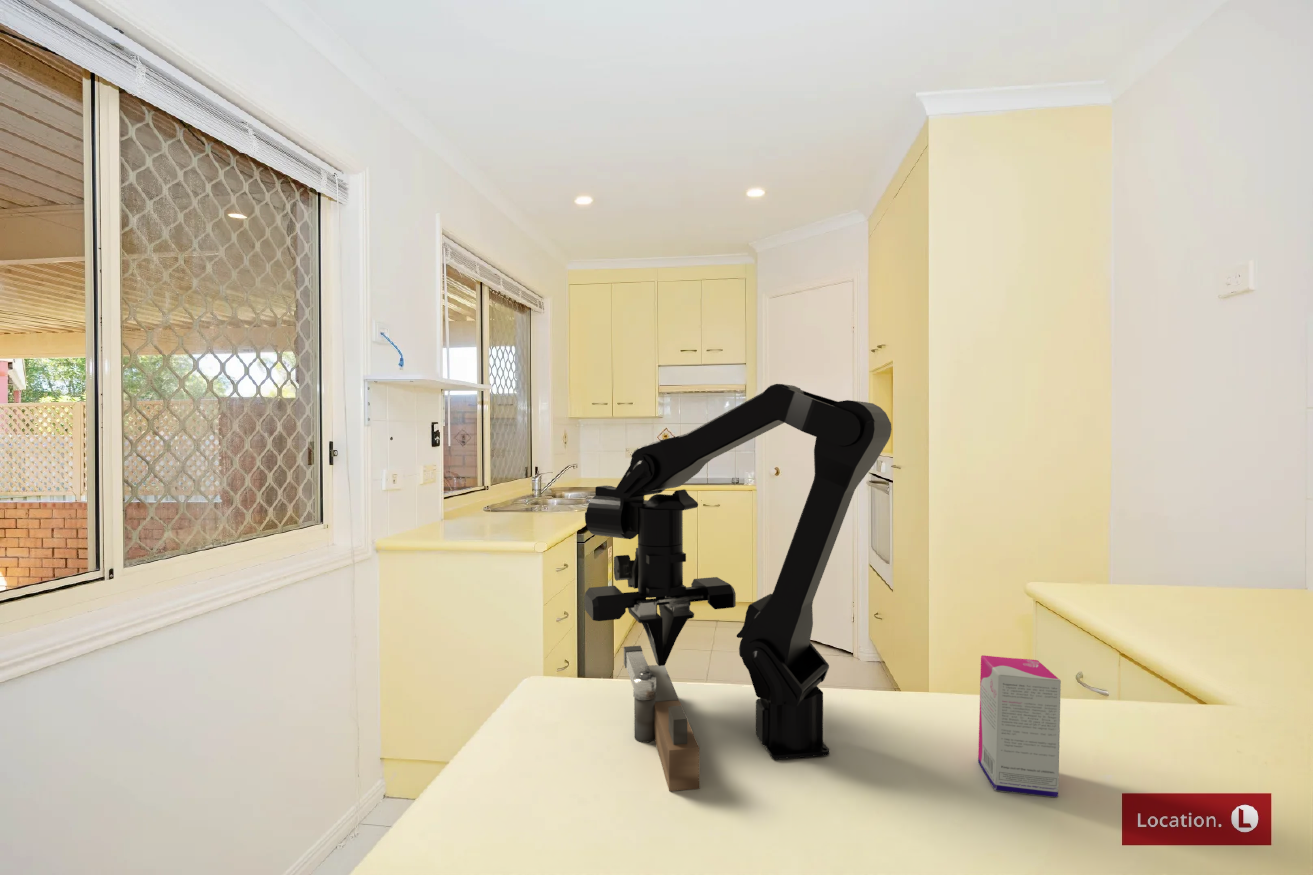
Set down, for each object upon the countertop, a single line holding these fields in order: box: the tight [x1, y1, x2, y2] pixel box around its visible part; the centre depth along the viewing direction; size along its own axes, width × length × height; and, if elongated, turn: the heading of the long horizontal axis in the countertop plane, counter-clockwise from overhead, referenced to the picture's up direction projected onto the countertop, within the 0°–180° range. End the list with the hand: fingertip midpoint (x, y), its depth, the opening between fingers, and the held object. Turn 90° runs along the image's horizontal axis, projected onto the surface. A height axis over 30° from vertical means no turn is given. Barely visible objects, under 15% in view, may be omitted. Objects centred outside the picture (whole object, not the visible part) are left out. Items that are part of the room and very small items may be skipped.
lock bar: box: [623, 645, 656, 700], centre depth 76 cm, size 12×3×3 cm, turn 10°
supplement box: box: [977, 654, 1062, 798], centre depth 63 cm, size 6×6×12 cm
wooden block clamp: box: [633, 664, 700, 792], centre depth 72 cm, size 5×22×6 cm, turn 8°
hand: (660, 664), depth 80 cm, fingers closed
